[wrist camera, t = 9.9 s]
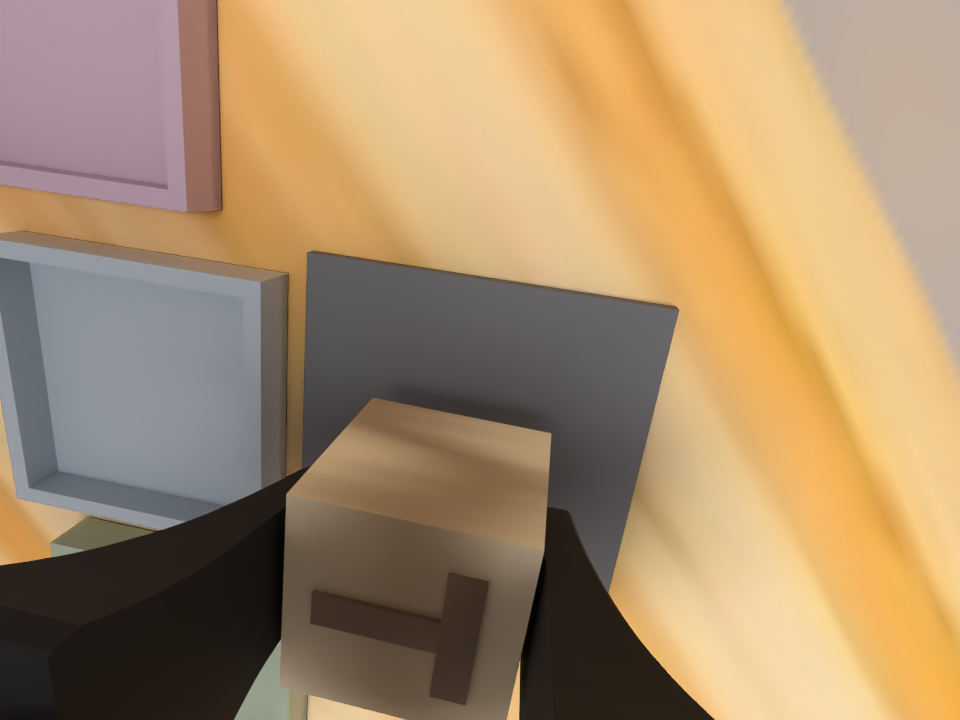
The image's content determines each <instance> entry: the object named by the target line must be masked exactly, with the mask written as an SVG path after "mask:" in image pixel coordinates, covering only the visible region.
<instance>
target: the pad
mask: <svg viewBox="0 0 960 720" xmlns="http://www.w3.org/2000/svg"><path fill="white" fill-rule="evenodd" d="M678 312H679V310H678V308H677V307H674V306H668V305H661V304H655V303H648V302H642V301H635V300H629V299H622V298H616V297H609V296H603V295H596V294H590V293H583V292H577V291H570V290H564V289H557V288H551V287H544V286H538V285H531V284H525V283H518V282H512V281H506V280H499V279H493V278H486V277H480V276H473V275H467V274H460V273H454V272H447V271H441V270H434V269H428V268H421V267H415V266H408V265H402V264H395V263H389V262H382V261H376V260H369V259H363V258H356V257H350V256H343V255H337V254H331V253H324V252H318V251H311V252H308V253H307V285H306V326H305V367H304V409H303V450H302V469H304V468H306V467H308V466H310V465H312V464H314V463H315V462H316V460H317V459H318V458H319V457H320V456H321V455H322V454H323V453H324V452H325V450H326V449H327V448H328V447H329V446H330V445H331V444H332V443H333V441H334V440H335V439H336V438H337V437H338V436H339V435H340V434H341V433H342V431H343V430H344V429H345V428H346V427H347V426H348V425H349V424H350V423H351V421H352V420H353V419H354V418H355V417H356V416H357V415H358V414H359V412H360V411H361V410H362V409H363V408H364V407H365V406H366V405H367V404H368V402H369V401H370V400H371V399H372V398H377V399H382V400H387V401H392V402H397V403H402V404H407V405H412V406H417V407H422V408H427V409H432V410H437V411H442V412H447V413H452V414H457V415H462V416H467V417H472V418H477V419H482V420H487V421H492V422H497V423H502V424H507V425H512V426H517V427H522V428H527V429H532V430H537V431H542V432H547V433H551V448H550V464H549V481H548V497H547V507H552V508H557V509H562V510H567V511H568V512H569V513H570V514H571V516H572V519H573V522H574V525H575V527H576V530H577V532H578V535H579V537H580V539H581V542H582V544H583V546H584V548H585V551H586V553H587V555H588V557H589V559H590V561H591V563H592V565H593V567H594V569H595V571H596V572H597V574H598V576H599V578H600V580H601V582H602V583H603V585H604V587H605V589H606V590H607V592H609V588H610V584H611V580H612V576H613V572H614V568H615V564H616V560H617V556H618V552H619V548H620V544H621V540H622V536H623V532H624V528H625V524H626V520H627V516H628V512H629V508H630V504H631V500H632V496H633V492H634V488H635V484H636V480H637V476H638V472H639V468H640V464H641V460H642V456H643V452H644V448H645V444H646V440H647V436H648V432H649V428H650V424H651V420H652V416H653V412H654V408H655V404H656V400H657V396H658V392H659V388H660V384H661V380H662V376H663V372H664V368H665V364H666V360H667V356H668V352H669V348H670V344H671V340H672V336H673V332H674V328H675V324H676V320H677V316H678Z"/></svg>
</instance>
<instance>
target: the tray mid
mask: <svg viewBox="0 0 960 720" xmlns="http://www.w3.org/2000/svg"><path fill="white" fill-rule="evenodd" d="M287 318H288V273H283V272H277V271H271V270H264V269H258V268H252V267H246V266H239V265H233V264H227V263H220V262H214V261H208V260H202V259H195V258H189V257H183V256H177V255H170V254H164V253H158V252H152V251H145V250H139V249H133V248H126V247H120V246H114V245H108V244H101V243H95V242H89V241H83V240H76V239H70V238H64V237H58V236H51V235H45V234H39V233H32V232H26V231H17V232H6V233H0V400H1V406H2V412H3V418H4V423H5V429H6V435H7V441H8V447H9V453H10V459H11V465H12V470H13V476H14V482H15V488H16V494H17V498H18V499H22V500H27V501H32V502H36V503H41V504H45V505H50V506H55V507H59V508H64V509H69V510H73V511H78V512H82V513H87V514H92V515H96V516H101V517H105V518H110V519H115V520H119V521H124V522H129V523H133V524H138V525H142V526H147V527H152V528H156V529H161V530H163V529H166V528H169V527H172V526H175V525H178V524H181V523H184V522H186V521H189V520H192V519H194V518H197V517H200V516H202V515H205V514H207V513H210V512H212V511H214V510H217V509H219V508H221V507H223V506H226V505H228V504H230V503H233V502H235V501H237V500H239V499H242V498H244V497H246V496H248V495H251V494H253V493H255V492H257V491H259V490H261V489H263V488H265V487H267V486H269V485H271V484H273V483H275V482H277V481H279V480H281V479H283V478H285V471H286V394H287Z"/></svg>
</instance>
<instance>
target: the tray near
mask: <svg viewBox="0 0 960 720" xmlns="http://www.w3.org/2000/svg"><path fill="white" fill-rule="evenodd" d="M0 185H7V186H13V187H20V188H26V189H33V190H40V191H46V192H53V193H60V194H66V195H73V196H80V197H86V198H93V199H100V200H106V201H113V202H120V203H126V204H133V205H139V206H146V207H153V208H159V209H166V210H173V211H179V212H186V213H189V212H202V211H214V210H222V201H221V161H220V122H219V82H218V43H217V3H216V0H0Z"/></svg>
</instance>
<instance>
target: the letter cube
mask: <svg viewBox="0 0 960 720" xmlns="http://www.w3.org/2000/svg"><path fill="white" fill-rule="evenodd" d="M550 448H551V433H547V432H542V431H537V430H532V429H527V428H522V427H517V426H512V425H507V424H502V423H497V422H492V421H487V420H482V419H477V418H472V417H467V416H462V415H457V414H452V413H447V412H442V411H437V410H432V409H427V408H422V407H417V406H412V405H407V404H402V403H397V402H392V401H387V400H382V399H377V398H372V399H371V400H370V401H369V402H368V404H367V405H366V406H365V407H364V408H363V409H362V410H361V411H360V412H359V414H358V415H357V416H356V417H355V418H354V419H353V420H352V421H351V423H350V424H349V425H348V426H347V427H346V428H345V429H344V430H343V431H342V433H341V434H340V435H339V436H338V437H337V438H336V439H335V440H334V441H333V443H332V444H331V445H330V446H329V447H328V448H327V449H326V450H325V452H324V453H323V454H322V455H321V456H320V457H319V458H318V459H317V460H316V462H315V463H314V464H313V465H312V466H311V467H310V468H309V469H308V470H307V472H306V473H305V474H304V475H303V476H302V477H301V478H300V479H299V481H298V482H297V483H296V484H295V485H294V486H293V487H292V488H291V489H290V491H289V492H288V493H287V494H286V520H285V548H284V575H283V603H282V630H281V658H280V685H279V687H282V688H286V689H289V690H293V691H297V692H301V693H305V694H309V695H313V696H317V697H321V698H325V699H329V700H332V701H336V702H340V703H344V704H348V705H352V706H356V707H360V708H364V709H368V710H372V711H376V712H379V713H383V714H387V715H391V716H395V717H399V718H403V719H407V720H506V719H507V715H508V711H509V706H510V702H511V697H512V693H513V688H514V684H515V679H516V675H517V670H518V666H519V661H520V657H521V652H522V648H523V644H524V639H525V635H526V630H527V626H528V621H529V617H530V612H531V608H532V603H533V599H534V594H535V590H536V585H537V581H538V577H539V572H540V568H541V563H542V559H543V554H544V547H545V530H546V514H547V497H548V481H549V464H550Z"/></svg>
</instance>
